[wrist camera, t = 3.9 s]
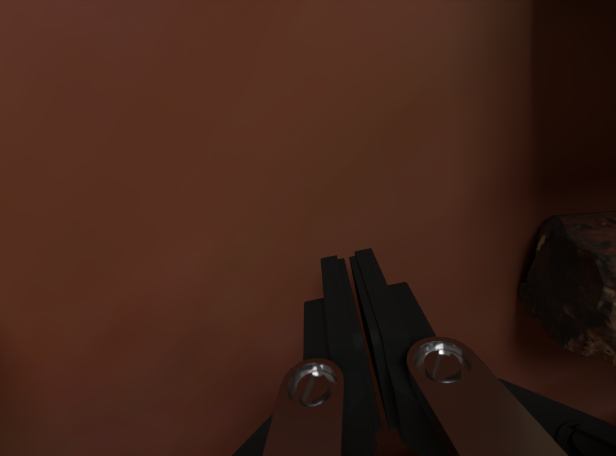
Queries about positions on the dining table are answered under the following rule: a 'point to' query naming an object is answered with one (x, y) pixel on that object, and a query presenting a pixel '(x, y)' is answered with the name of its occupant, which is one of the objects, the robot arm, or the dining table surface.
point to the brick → (576, 283)
